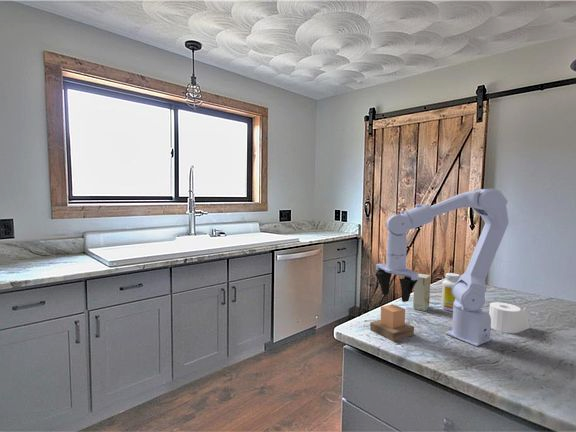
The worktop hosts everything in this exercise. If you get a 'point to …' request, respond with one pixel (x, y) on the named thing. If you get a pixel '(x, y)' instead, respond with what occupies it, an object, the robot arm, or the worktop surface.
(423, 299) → the skincare box
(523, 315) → the toilet paper
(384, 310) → the orange cube
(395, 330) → the walnut block
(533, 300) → the worktop surface
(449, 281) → the supplement bottle
